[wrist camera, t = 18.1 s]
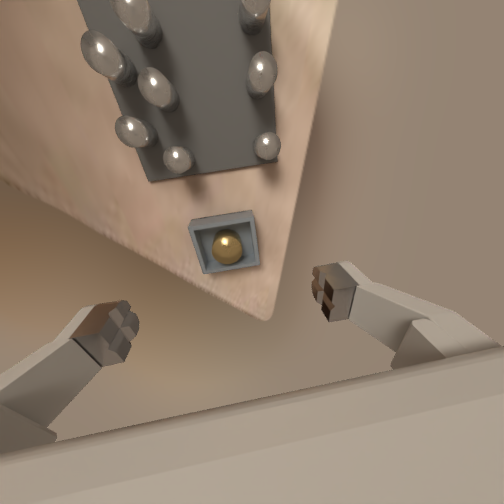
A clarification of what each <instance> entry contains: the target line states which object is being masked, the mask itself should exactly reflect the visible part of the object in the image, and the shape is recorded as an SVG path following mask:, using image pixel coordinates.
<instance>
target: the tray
mask: <svg viewBox="0 0 504 504" xmlns="http://www.w3.org/2000/svg"><path fill="white" fill-rule="evenodd" d="M224 229H230V230H233V231H235V232H237V233H238V234H239V236H240V238H241V244H242V255H241V257H240V259H239V260H238V261H236V262H234V263H232V264H222V263H220V262H218V261H216V260H215V259H214V257H213V255H212V244H213V239H214V236H215V234H216V233H217V232H219V231H221V230H224ZM188 230H189V233H190V236H191V239H192V242H193V245H194V248H195V251H196V254H197V257H198V260H199V263H200V266H201V269H202V272H203V274H209V273H215V272H221V271H227V270H232V269H238V268H244V267H250V266H256V265H260V260H259V252H258V245H257V237H256V230H255V222H254V216H253V213H252V210H248V211H241V212H235V213H229V214H223V215H217V216H211V217H204V218H198V219H192V220H191V222H190V224H189V226H188Z"/></svg>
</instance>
